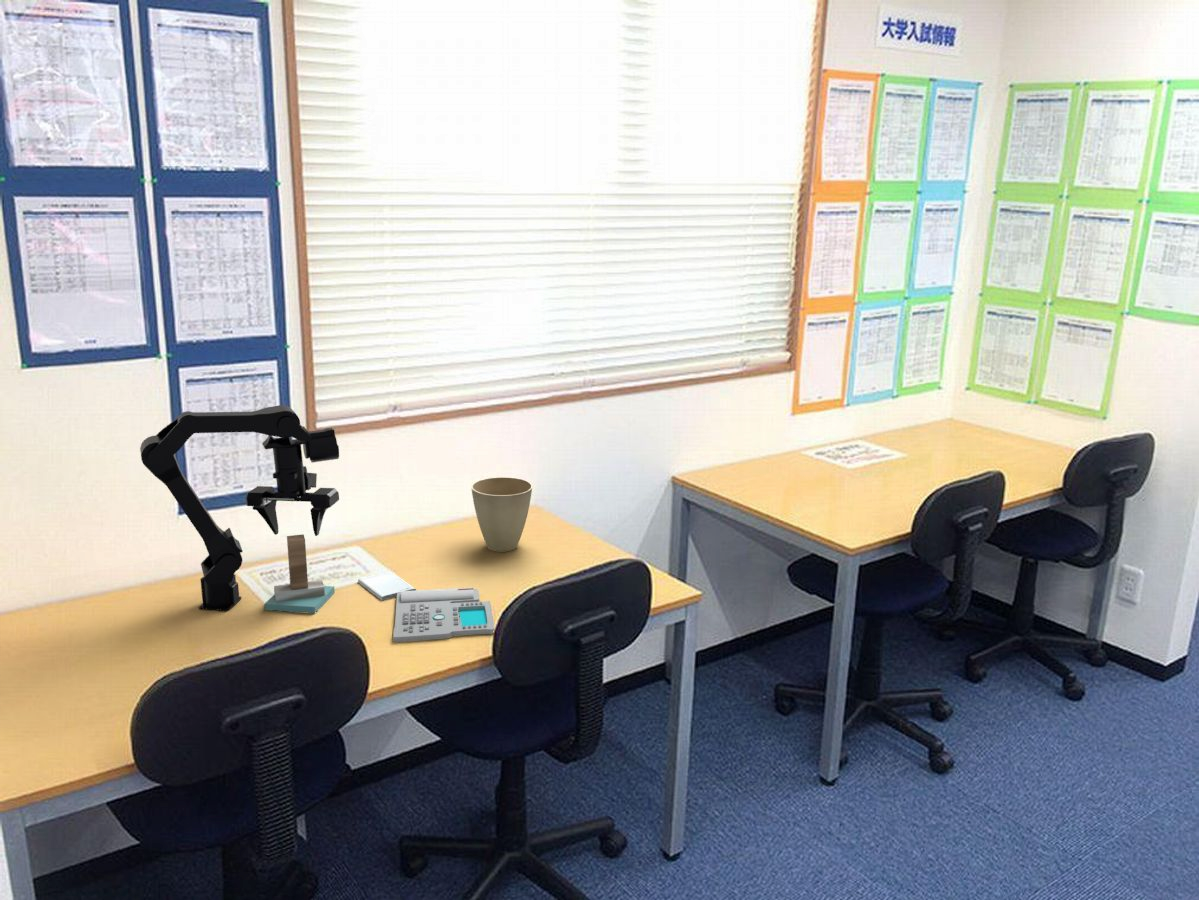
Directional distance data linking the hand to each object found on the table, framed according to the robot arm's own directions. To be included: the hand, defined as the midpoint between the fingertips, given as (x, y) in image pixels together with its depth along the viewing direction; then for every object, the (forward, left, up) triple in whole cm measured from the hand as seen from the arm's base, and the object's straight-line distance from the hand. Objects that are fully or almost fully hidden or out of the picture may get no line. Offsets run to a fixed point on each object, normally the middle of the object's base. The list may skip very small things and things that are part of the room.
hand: (296, 534), depth 215 cm
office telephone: (+34, -7, -14) cm, 37 cm away
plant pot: (+38, +34, -14) cm, 53 cm away
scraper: (+2, -5, -12) cm, 13 cm away
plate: (+2, -5, -13) cm, 14 cm away
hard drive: (+18, +6, -14) cm, 23 cm away
